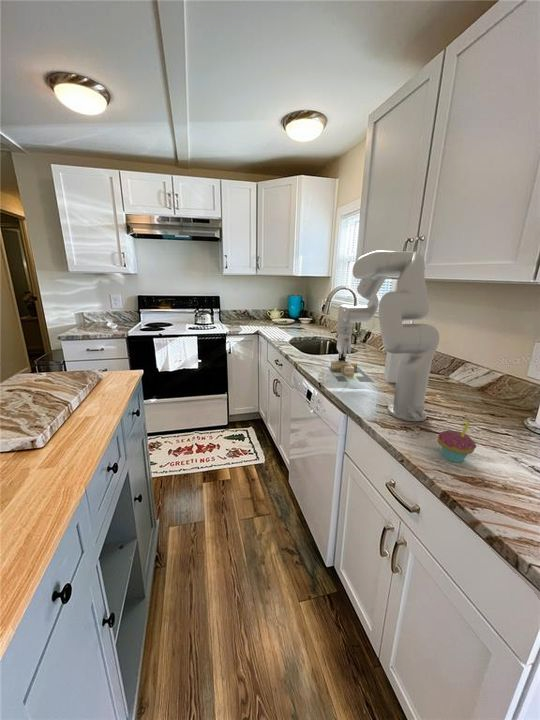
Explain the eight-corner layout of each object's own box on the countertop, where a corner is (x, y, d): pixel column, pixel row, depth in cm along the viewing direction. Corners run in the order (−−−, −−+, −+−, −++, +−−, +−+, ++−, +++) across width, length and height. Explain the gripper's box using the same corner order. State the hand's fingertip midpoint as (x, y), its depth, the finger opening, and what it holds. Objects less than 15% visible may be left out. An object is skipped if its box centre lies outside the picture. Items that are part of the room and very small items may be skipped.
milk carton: (398, 380, 138) (404, 340, 133) (403, 385, 132) (410, 343, 126) (383, 379, 139) (388, 339, 134) (387, 384, 132) (393, 343, 127)
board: (373, 384, 132) (374, 381, 132) (338, 383, 132) (338, 381, 131) (358, 369, 153) (358, 367, 153) (327, 368, 153) (327, 366, 152)
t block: (361, 376, 139) (362, 368, 138) (336, 375, 139) (337, 367, 137) (354, 368, 150) (355, 360, 149) (330, 368, 150) (331, 360, 149)
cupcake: (477, 460, 78) (487, 418, 75) (462, 471, 74) (472, 427, 70) (443, 445, 85) (451, 406, 82) (428, 454, 80) (436, 413, 77)
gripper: (356, 333, 141) (352, 370, 146) (347, 327, 155) (344, 361, 160) (340, 332, 140) (337, 369, 145) (333, 327, 155) (330, 361, 160)
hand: (341, 365), depth 153 cm, fingers closed
